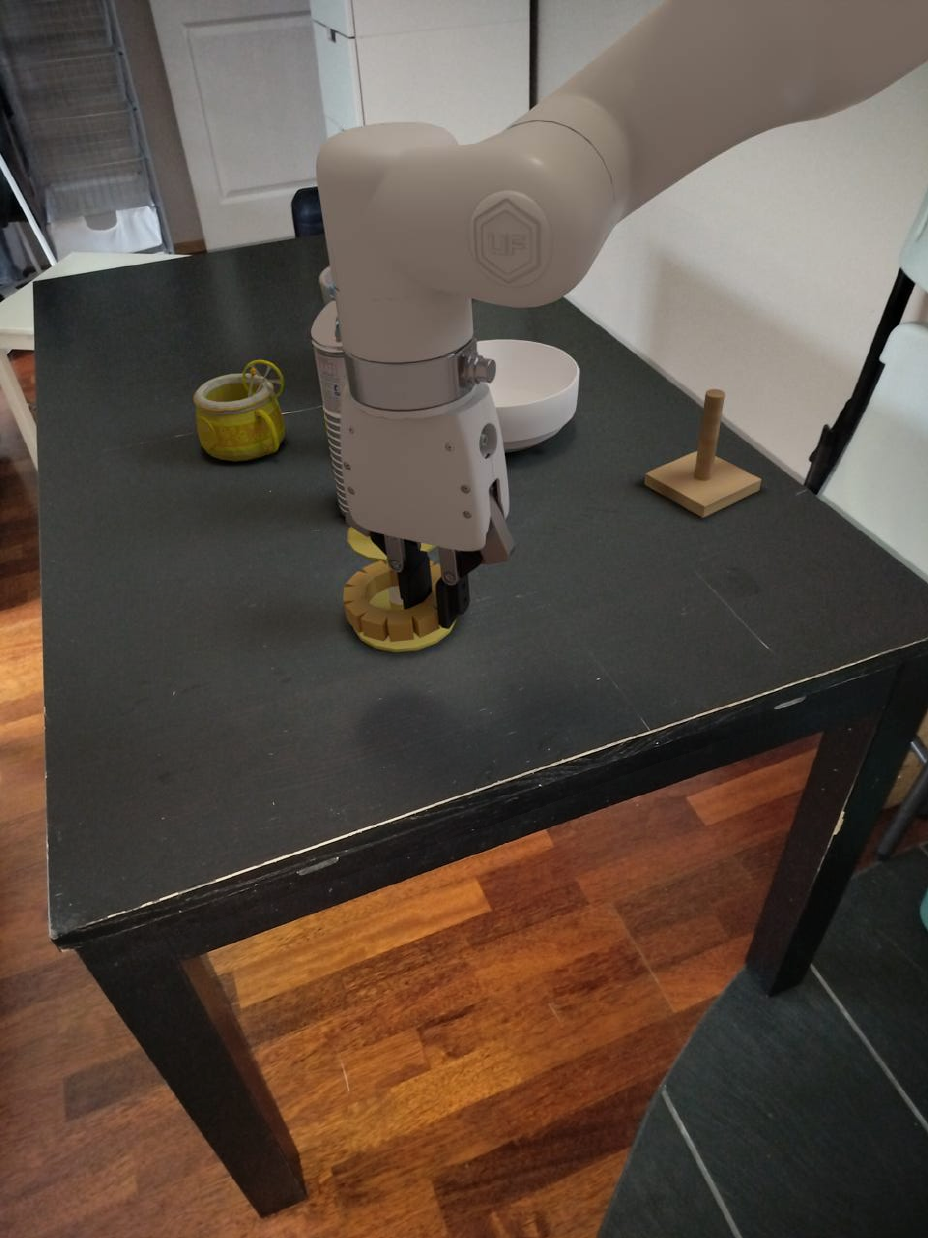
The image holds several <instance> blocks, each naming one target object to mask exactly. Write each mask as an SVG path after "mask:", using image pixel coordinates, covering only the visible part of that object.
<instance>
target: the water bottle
mask: <svg viewBox="0 0 928 1238" xmlns="http://www.w3.org/2000/svg"><path fill="white" fill-rule="evenodd" d="M329 289H330V292H331V295H330V296H331V297H332V299H333V300H332V301H331V302H329V303H328V304H327V305H326V306H323V308H322V309H321V310H320V311H319V313H318V314H317V316H316V317H315V319H314V321H313V323H312V325H311V328H310V339H311V346H312V348H313V350H314V356H315V362H316V363H315V364H316V370H317V376H318V381H319V387H320V388H319V389H320V393H321V395H320V396H321V400H322V413H323V419H324V427H325V430H326V431H325V433H326V437H327V444H328V451H329V456H330V457H329V458H330V460H331V461H330V462H331V468H332V473H333V481H334V487H335V491H336V492H335V493H336V498H337V503H338V507H339V510H340V513H341V514H342V516H343V517H345V518H346V515H347V512H348V503H347V499H346V493H345V487H344V479H343V470H342V459H341V443H340V420H341V403H342V394H343V390H344V388H345V387H346V385H347V384H348V380H347V373H346V367H345V360H344V354H343V347H342V345H343V344H342V340H341V333H340V327H339V320H338V314H337V308H336V301H335V295H334V289H333V283H332V284H331V285H330V286H329Z"/></svg>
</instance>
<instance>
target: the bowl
mask: <svg viewBox="0 0 928 1238" xmlns="http://www.w3.org/2000/svg"><path fill="white" fill-rule="evenodd" d="M477 352H478V355H482V356H483V357H484V358H486V359H493V360H494V361H495V363H496V373H495V377H494V380H493V382H492V383H485V384H487V385H488V386H489V388H490V391H491V395H492V398H493V401H494V405H495V409H496V412H497V416H498V421H499V425H500V430H501V435H502V441H503V447H504V454H505V453H506V454H507V453H508V454H509V453H513V452H520V451H524V450H527V449H530V448H533V447H535V446H537V445H538V444H541V443H543V442H545V441H546V440H549V439H550V438H552V437H553V436H555V435H556V434H557V433H558V432H559V431H561V429H562V428H563V427H564V426H565V425H566V424H568V422H569V421H570V420H571V419H572V418H573V416H574V415H575V413H576V411H577V405H578V398H579V386H580V385H579V383H580V368H579V364H578V362H577V361H576V360H575V359H574V358H573V357H572V356H571V355H570V354H568V353H566V351H564V350H561V349H559V348H557V347H555V346H553V345H548V344H545V343H540V342H535V341H530V340H522V339H521V340H520V339H488V340H487V339H486V340H479V341H477ZM482 383H484V382H482Z"/></svg>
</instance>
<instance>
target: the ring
mask: <svg viewBox="0 0 928 1238" xmlns="http://www.w3.org/2000/svg"><path fill="white" fill-rule="evenodd" d="M386 563H387V565H386V564H385V563H384V562H382V561H381V560H380V561H377V562H375V561H374V562H372V563H370V564H368V565H366V566H364V567H362V568H361V571H359V570H357V571H356V572H355V573H354V574H353V575H352V576H351V577H350V578H349V580H347V582H345V585H346V586H344V587H343V595H342V603H343V608H344V614H345V618H346V619H347V623H348V624H350V626H352V628H353V627H354V628H355V630H356V631H357V632H358V633H361V632H363V635H364V636H365V637H369V638H373V639H376V640H380V641H385V640H386V638H387V637H388V636H389V639H390V642H396V641H406V640H414V633H415V634H416V635H417V636H418V637H419V638H422V637H424V636H426V635H428V634H430V633H432V632H434V631H436V630H438V629H440V625H439V621H438V611H437V602H436V592H435V584H436V582H437V581H438V580H439V578H440V577H441V570H440V563H435V561H434V560H431V559H430V567H431V576H432V592H431V594H430V595H429V596H428V597H427V599H426V600H425V601H424V602H422V603H420V604H418V605H416V606H414V607H411V608H409V609H404V610H394V611H389V610H385V609H382V608H378V607H374V606H373V605H372V604H371V603H370V601H371V600H372V598H373V597H374V596H375V595H376V594H377V593H379V592H381V591H383V590H385V589H388V588H390V587H396V586H399V583H398V576H397V572H394V571H392V570H391V569H390V568H389V566H388V562H387V559H386Z"/></svg>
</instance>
